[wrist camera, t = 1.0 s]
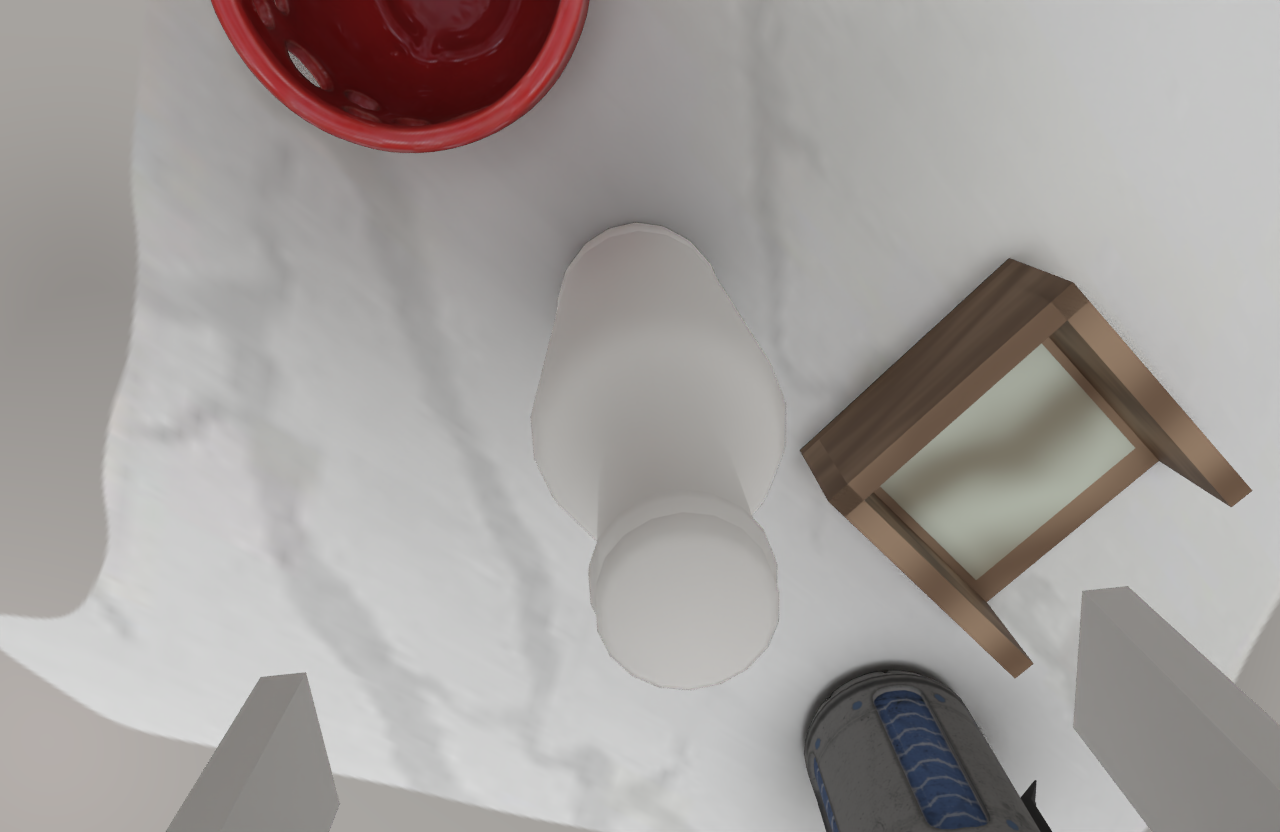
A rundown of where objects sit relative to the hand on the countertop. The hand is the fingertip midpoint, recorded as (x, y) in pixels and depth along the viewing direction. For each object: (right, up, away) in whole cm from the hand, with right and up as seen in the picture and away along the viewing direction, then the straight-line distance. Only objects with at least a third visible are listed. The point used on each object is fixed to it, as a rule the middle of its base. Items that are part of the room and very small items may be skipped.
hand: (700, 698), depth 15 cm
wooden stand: (+18, +3, +34) cm, 38 cm away
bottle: (-1, +11, +30) cm, 32 cm away
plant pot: (-10, +24, +26) cm, 36 cm away
